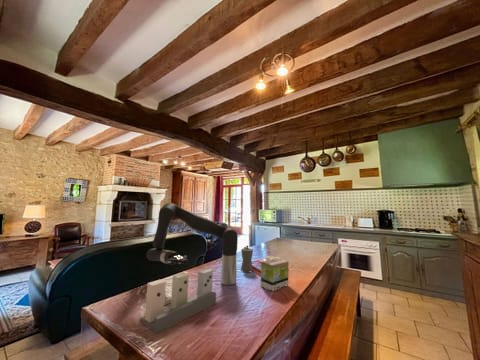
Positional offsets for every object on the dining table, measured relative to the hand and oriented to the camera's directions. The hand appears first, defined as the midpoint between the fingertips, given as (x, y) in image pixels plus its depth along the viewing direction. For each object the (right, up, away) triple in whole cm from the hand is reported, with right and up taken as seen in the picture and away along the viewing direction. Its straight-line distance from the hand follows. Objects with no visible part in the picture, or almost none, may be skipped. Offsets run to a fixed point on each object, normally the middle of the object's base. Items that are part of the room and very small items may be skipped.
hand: (186, 262), depth 110 cm
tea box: (+51, -20, +11) cm, 56 cm away
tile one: (-6, -12, -27) cm, 30 cm away
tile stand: (+3, -15, -19) cm, 24 cm away
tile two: (+2, -13, -18) cm, 23 cm away
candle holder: (+53, -22, +30) cm, 65 cm away
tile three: (+12, -14, -11) cm, 22 cm away
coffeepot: (+35, -23, +42) cm, 59 cm away
